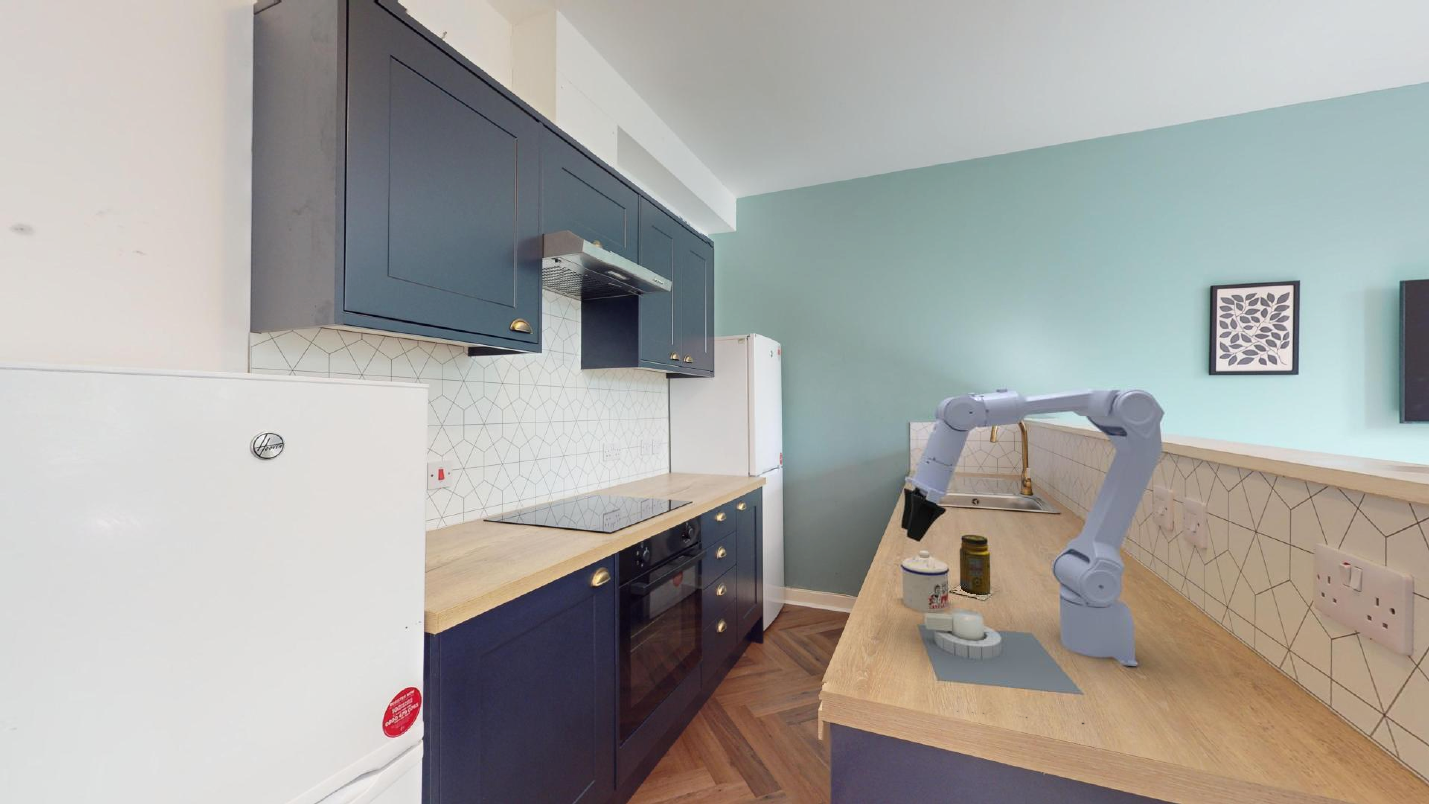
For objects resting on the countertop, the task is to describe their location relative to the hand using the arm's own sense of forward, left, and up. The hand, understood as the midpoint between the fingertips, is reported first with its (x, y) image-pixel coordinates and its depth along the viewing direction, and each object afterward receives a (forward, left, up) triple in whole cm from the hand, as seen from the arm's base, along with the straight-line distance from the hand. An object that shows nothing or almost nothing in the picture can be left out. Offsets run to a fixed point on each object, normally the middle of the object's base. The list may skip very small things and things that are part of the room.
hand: (909, 534), depth 90 cm
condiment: (-17, -29, -19) cm, 39 cm away
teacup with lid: (-6, -18, -19) cm, 27 cm away
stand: (-11, +4, -19) cm, 22 cm away
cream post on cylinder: (-7, +1, -18) cm, 19 cm away
